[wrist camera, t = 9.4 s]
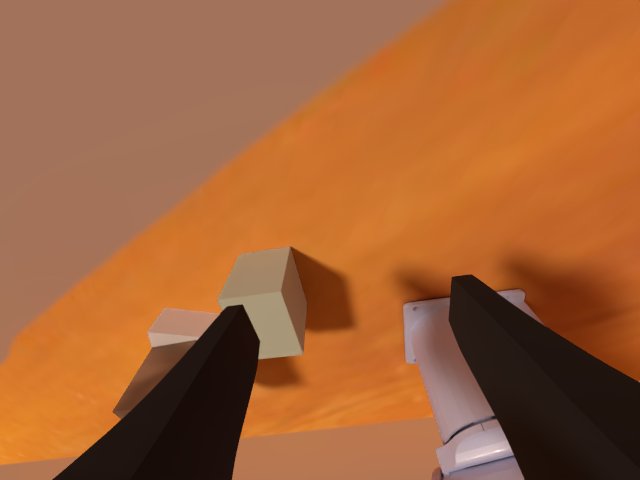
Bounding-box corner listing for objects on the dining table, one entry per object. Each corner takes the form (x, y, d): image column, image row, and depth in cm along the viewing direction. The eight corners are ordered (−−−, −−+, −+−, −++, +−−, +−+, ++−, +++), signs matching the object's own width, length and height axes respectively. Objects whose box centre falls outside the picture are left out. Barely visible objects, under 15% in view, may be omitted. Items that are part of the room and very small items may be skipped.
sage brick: (290, 245, 20) (280, 291, 16) (307, 303, 23) (303, 354, 19) (239, 253, 20) (217, 300, 16) (263, 308, 23) (249, 360, 19)
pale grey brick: (234, 311, 24) (223, 339, 21) (236, 364, 28) (228, 393, 26) (166, 304, 24) (147, 332, 21) (179, 359, 28) (164, 387, 25)
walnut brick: (196, 339, 22) (165, 404, 17) (227, 381, 25) (207, 444, 20) (152, 347, 22) (112, 411, 18) (188, 386, 25) (161, 450, 21)
